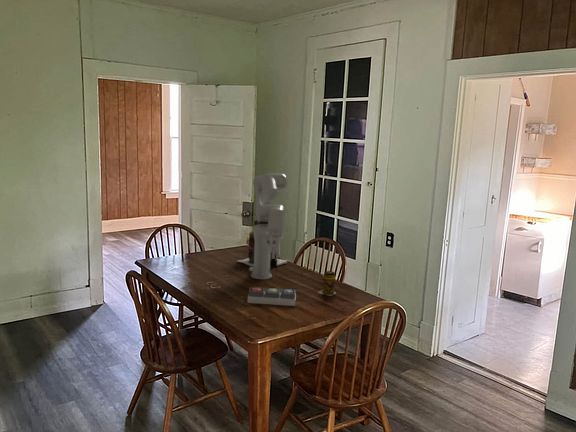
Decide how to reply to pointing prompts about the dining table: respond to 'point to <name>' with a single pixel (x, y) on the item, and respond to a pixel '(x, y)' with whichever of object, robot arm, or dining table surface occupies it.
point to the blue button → (288, 291)
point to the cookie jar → (252, 248)
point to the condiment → (328, 284)
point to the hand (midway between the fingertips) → (273, 267)
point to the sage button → (272, 290)
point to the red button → (257, 289)
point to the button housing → (272, 297)
